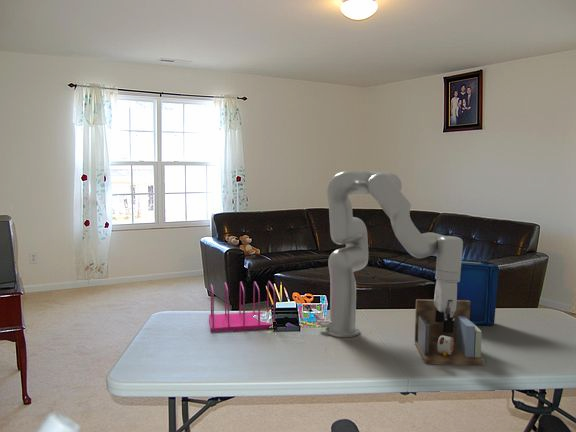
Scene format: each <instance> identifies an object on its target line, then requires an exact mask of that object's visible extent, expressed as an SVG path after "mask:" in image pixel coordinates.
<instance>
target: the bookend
mask: <svg viewBox="0 0 576 432" xmlns="http://www.w3.org/2000/svg"><path fill="white" fill-rule="evenodd" d="M429 328H430V325H429V324H428V322H427V321H426V320H425V318H424V317H423V315H419V322H418V345H419V347H420V348H421V350H422V352H423V354H424V355H425V356H428V355H429Z"/></svg>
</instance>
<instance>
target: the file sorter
mask: <svg viewBox="0 0 576 432" xmlns="http://www.w3.org/2000/svg"><path fill="white" fill-rule="evenodd" d="M223 286H224V291H223V292H224V313H218V314H216V313H215V295H214V293H215V292H214V287H213V284H212V283H210V314H209V315H208V322H209V329H210V332H211V333H214V332H215V333H218V332H232V331H233V332H235V331H248V330H249V331H250V330H251V331H252V330H265V329H267V328H269V327H270V326H272V325H273V324H270V323H266V322H261V321H260V314H262V313H263V312H264V311H261V292H260V288H259V285H258V284H257V282H256V281H253V288H252V289H253V293H252V294H253V301H252V303H253V306H252V307H253V309H252V310H253V311H252V312H246V311H245V310H246V308H245V307H246V304H245V303H246V302H245V301H246V297H245V295H246V293H245V292H246V291H245V287H244V284H243V281H240V282H239V307H238V308H239V312H236V313H230V301H229V300H230V299H229V288H228V284H227V282H226V281H225V282H224V285H223ZM266 287H267V289H266V298H267V299H266V312H269V305H270V303H269V301H270V300H269V298H270V296H269V295H270V294H269V291H270V287H271V289H272V292H273V308H272V309H273V311H272V316H273V322H276V291H275V290H276V289H275V287H274V285H273V284H272V282H271V281H270V280H268V281H267V286H266ZM256 289H257V292H258V293H257V295H258V296H257V298H258V301H257V302H258V303H257V307H258V309H257V310H258V311H257V312H256V311H255V310H256V309H255V308H256V307H255V306H256V304H255V303H256V302H255V301H256V297H255V296H256ZM242 306H243V307H242ZM241 311H242V312H241ZM254 315H258V320H257V319H256V318H253V316H254ZM267 330H268V329H267Z"/></svg>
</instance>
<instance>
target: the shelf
mask: <svg viewBox="0 0 576 432" xmlns="http://www.w3.org/2000/svg"><path fill="white" fill-rule="evenodd" d="M448 314H449V313H447V315H448ZM419 315H423V317H424V318H425V320H426V321H427V322H428V324H429V325H430V328H429V355H428V356H425V355H424V354H423V352H422V350H421V348H420V347H419V345H418V322H419ZM435 315H436V307H435V305H434V299H428V298H427V299H424V298H423V299H419V298H416V299H415V315H414V319H415V321H414V343H415V344H414V346H415V345H416V346H415V347H417V348H416V349H418V350H417V352H418V353H419V355H420V357H421V359H422V361H423V360H424V361H423V362H424V364H425V365H451V366H452V365H454V366H456V365H457V366H483V367H484V365H485V361H484V359H483V358H482V357H465V356H464V354H463V353H462V352H461V350H460V349H459V348H458V347H457V345H456V330H457V316H465V317H466V318H467V319H468V320H470V301H469V300H457V303H456V311H455V313H454V315H455V317H454V328H453V333H444V332H443V331H442V329H443V322H436V321H435ZM442 335H443V336H448V337H452V338H453V339H454V349H453V352H452V354H451V355H447V356H446V357H445V356H443V354H440V353H438V351H437V343H438V339H439V337H440V336H442Z"/></svg>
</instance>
